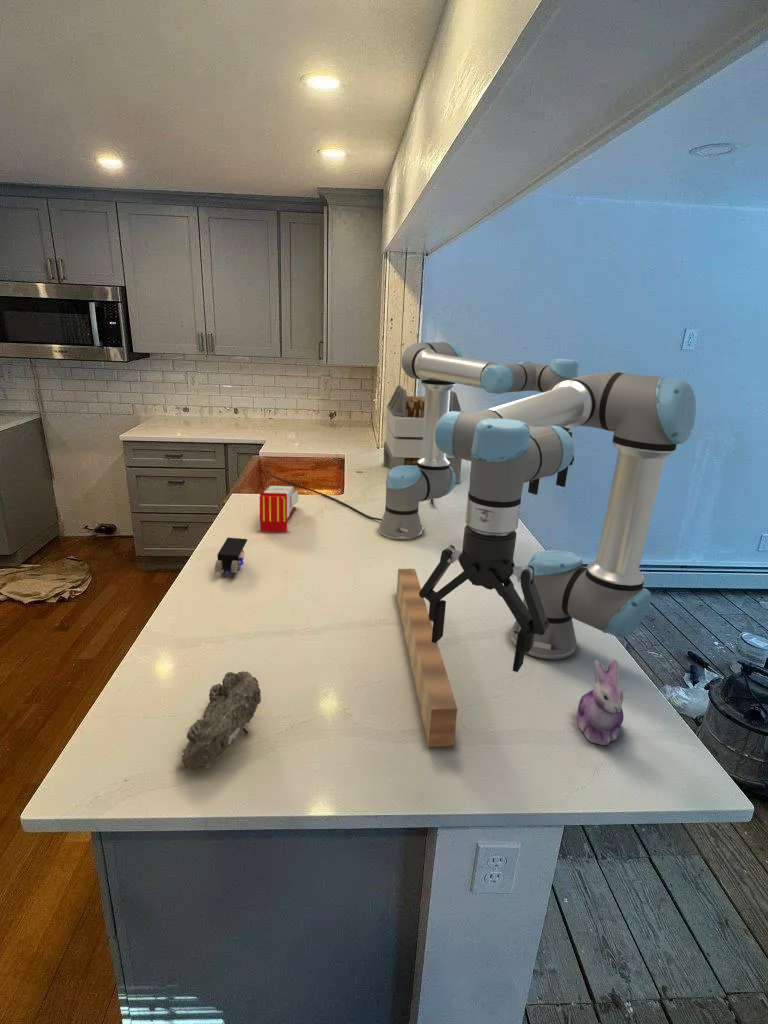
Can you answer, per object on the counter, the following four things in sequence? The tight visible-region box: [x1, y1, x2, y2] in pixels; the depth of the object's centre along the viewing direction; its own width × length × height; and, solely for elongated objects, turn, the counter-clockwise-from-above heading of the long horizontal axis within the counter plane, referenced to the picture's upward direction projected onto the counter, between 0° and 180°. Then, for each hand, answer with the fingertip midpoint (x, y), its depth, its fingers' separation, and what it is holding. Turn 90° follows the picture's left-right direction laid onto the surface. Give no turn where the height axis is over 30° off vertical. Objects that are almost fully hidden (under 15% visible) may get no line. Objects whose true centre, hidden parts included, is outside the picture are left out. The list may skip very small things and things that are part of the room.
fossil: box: [181, 670, 262, 771], centre depth 103 cm, size 22×10×15 cm
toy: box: [259, 485, 299, 533], centre depth 208 cm, size 12×13×30 cm
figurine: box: [576, 658, 625, 746], centre depth 107 cm, size 9×10×15 cm
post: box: [396, 568, 458, 748], centre depth 129 cm, size 57×5×8 cm, turn 5°
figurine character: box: [214, 537, 248, 578], centre depth 166 cm, size 7×8×15 cm
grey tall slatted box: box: [383, 384, 463, 484], centre depth 268 cm, size 34×33×41 cm
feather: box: [430, 499, 435, 508], centre depth 240 cm, size 2×28×2 cm
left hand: (546, 489), depth 165 cm, fingers open, 13 cm apart
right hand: (476, 652), depth 89 cm, fingers open, 13 cm apart
